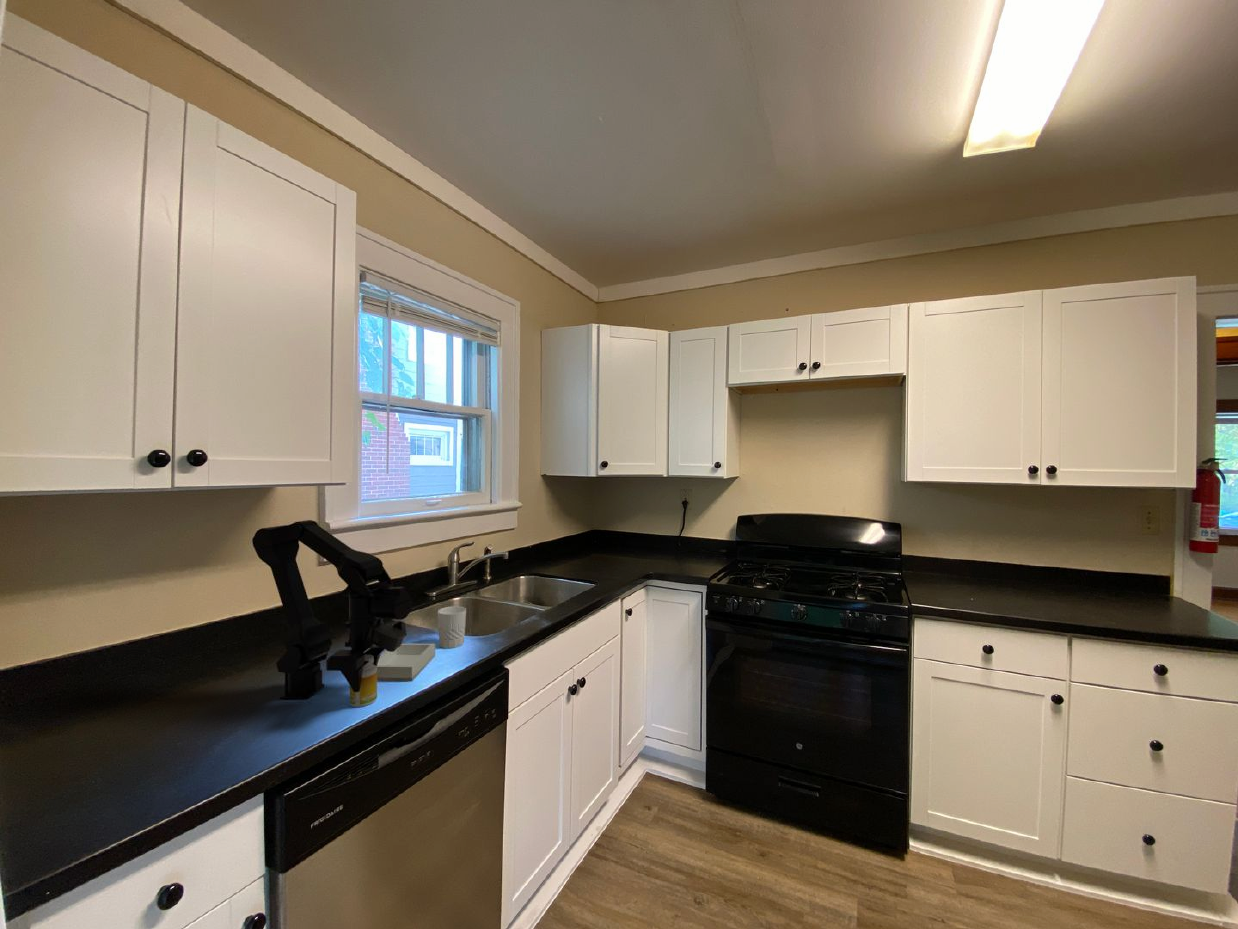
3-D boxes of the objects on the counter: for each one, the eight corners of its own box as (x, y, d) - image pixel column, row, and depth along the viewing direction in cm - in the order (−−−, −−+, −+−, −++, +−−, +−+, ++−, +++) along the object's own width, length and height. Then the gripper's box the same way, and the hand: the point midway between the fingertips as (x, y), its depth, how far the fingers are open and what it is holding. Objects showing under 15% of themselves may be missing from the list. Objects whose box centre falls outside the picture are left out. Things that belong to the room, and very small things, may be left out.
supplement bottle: (381, 695, 111) (381, 653, 110) (370, 707, 105) (370, 662, 105) (357, 695, 110) (357, 653, 110) (344, 707, 105) (344, 663, 105)
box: (366, 681, 118) (366, 666, 118) (394, 656, 133) (394, 643, 133) (411, 681, 118) (412, 666, 118) (435, 656, 133) (435, 643, 133)
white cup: (454, 651, 137) (454, 615, 137) (431, 647, 139) (431, 612, 139) (471, 641, 144) (471, 607, 144) (449, 638, 147) (449, 605, 147)
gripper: (379, 630, 98) (379, 707, 98) (417, 603, 117) (417, 668, 117) (324, 629, 98) (324, 707, 98) (371, 603, 117) (370, 667, 117)
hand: (363, 685), depth 108 cm, fingers closed on supplement bottle, 5 cm apart
